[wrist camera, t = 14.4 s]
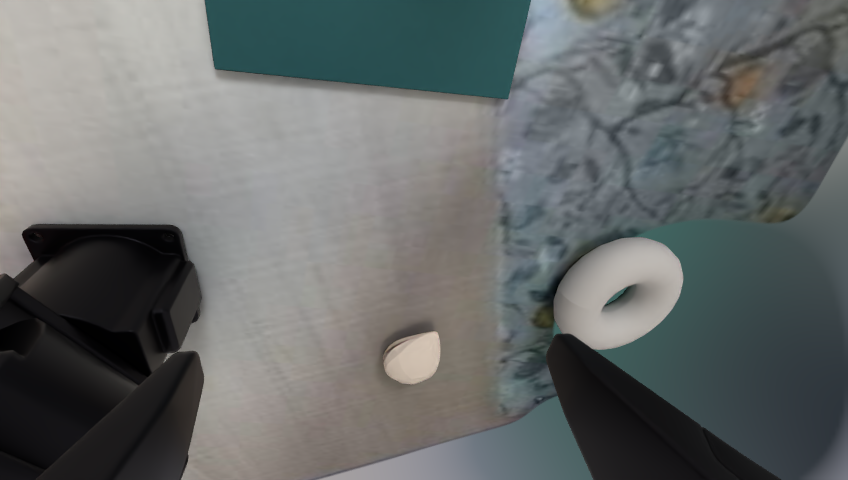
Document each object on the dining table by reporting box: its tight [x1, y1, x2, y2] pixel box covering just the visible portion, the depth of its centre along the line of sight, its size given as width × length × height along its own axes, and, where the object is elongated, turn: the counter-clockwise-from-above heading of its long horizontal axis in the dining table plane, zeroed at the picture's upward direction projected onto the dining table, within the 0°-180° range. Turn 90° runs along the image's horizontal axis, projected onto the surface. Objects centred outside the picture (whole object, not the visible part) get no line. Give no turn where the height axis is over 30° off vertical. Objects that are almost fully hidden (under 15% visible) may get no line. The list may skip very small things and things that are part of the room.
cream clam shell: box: [383, 331, 440, 385], centre depth 27 cm, size 4×5×2 cm
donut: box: [553, 237, 683, 350], centre depth 28 cm, size 10×4×10 cm
